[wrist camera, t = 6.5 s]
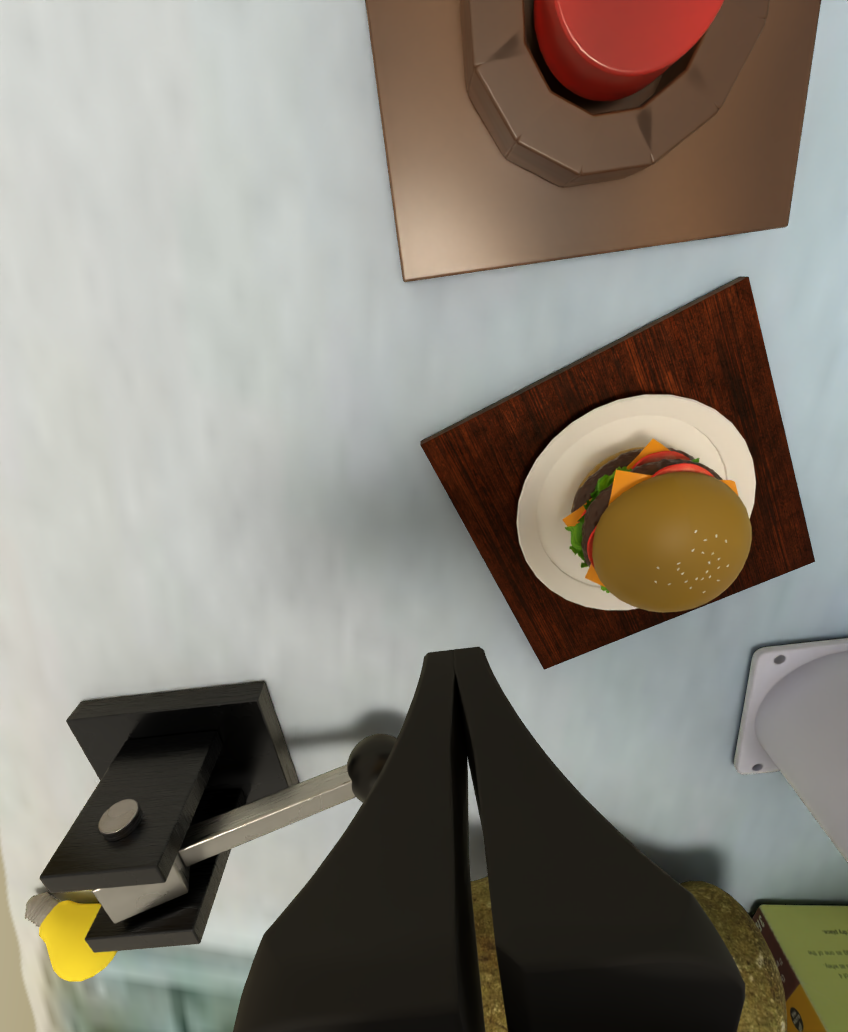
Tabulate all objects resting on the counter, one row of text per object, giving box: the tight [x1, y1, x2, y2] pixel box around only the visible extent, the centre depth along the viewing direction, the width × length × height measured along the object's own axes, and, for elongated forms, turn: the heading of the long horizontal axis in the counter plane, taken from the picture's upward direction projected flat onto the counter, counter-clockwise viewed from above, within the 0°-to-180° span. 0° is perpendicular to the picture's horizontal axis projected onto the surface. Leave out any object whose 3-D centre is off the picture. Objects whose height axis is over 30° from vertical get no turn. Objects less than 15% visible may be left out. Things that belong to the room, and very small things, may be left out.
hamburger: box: [421, 277, 815, 669], centre depth 18 cm, size 12×12×6 cm
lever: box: [92, 734, 397, 924], centre depth 22 cm, size 13×3×3 cm, turn 98°
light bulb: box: [25, 892, 117, 982], centre depth 30 cm, size 3×6×4 cm
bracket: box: [40, 682, 299, 953], centre depth 23 cm, size 9×8×7 cm
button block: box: [365, 0, 821, 282], centre depth 13 cm, size 11×10×4 cm
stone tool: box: [471, 876, 787, 1032], centre depth 26 cm, size 20×9×10 cm
